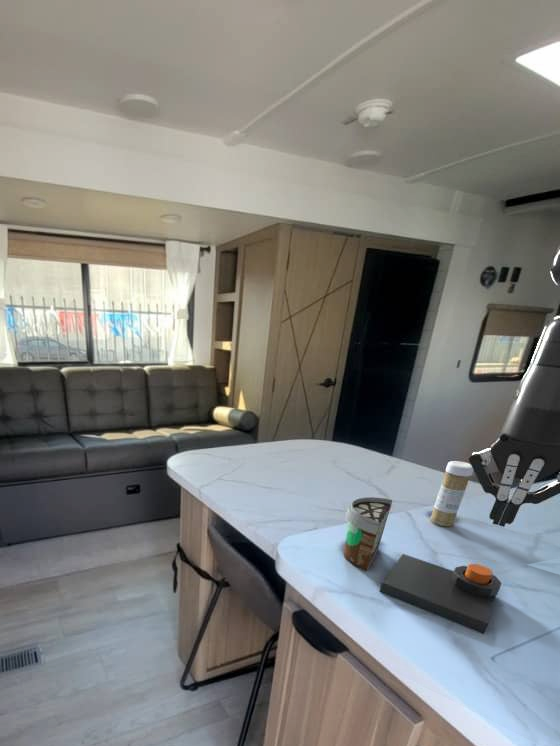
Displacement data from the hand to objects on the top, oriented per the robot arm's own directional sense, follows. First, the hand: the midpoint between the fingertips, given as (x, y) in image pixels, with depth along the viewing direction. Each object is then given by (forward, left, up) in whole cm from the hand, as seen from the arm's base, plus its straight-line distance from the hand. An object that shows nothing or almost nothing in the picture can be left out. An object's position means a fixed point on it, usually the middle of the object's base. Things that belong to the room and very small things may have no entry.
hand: (498, 523), depth 59 cm
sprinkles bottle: (+9, -27, -13) cm, 31 cm away
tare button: (0, 0, -10) cm, 10 cm away
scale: (+4, +3, -13) cm, 14 cm away
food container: (+18, 0, -13) cm, 22 cm away
